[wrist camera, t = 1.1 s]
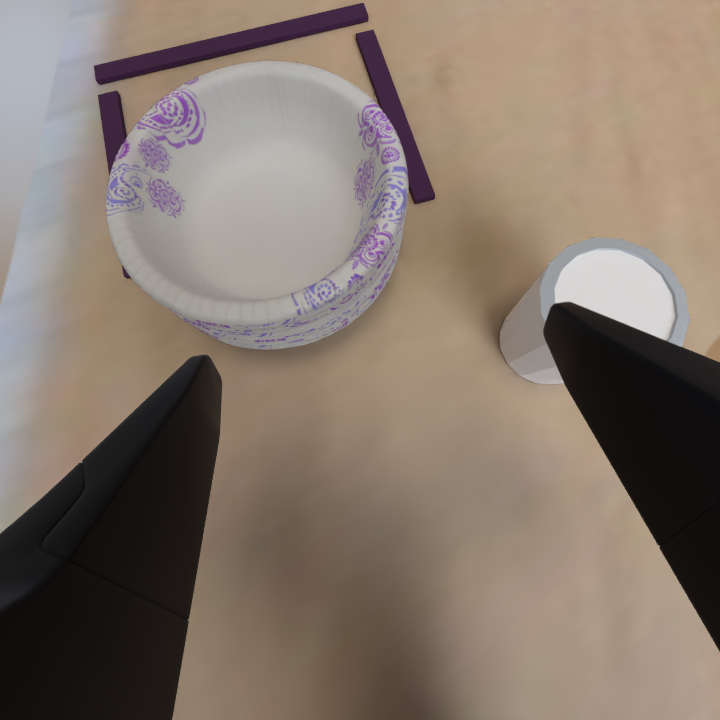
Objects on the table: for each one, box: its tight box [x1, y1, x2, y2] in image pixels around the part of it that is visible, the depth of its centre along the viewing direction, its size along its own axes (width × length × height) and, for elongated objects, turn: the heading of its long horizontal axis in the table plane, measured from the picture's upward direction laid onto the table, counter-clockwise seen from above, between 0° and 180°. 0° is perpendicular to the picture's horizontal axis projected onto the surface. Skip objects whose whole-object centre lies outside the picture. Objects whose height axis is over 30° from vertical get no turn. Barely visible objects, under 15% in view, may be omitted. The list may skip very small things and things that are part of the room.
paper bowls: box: [106, 61, 409, 350], centre depth 21 cm, size 15×15×8 cm
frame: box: [94, 3, 435, 278], centre depth 27 cm, size 19×22×1 cm
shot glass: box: [500, 238, 690, 384], centre depth 20 cm, size 7×7×7 cm
